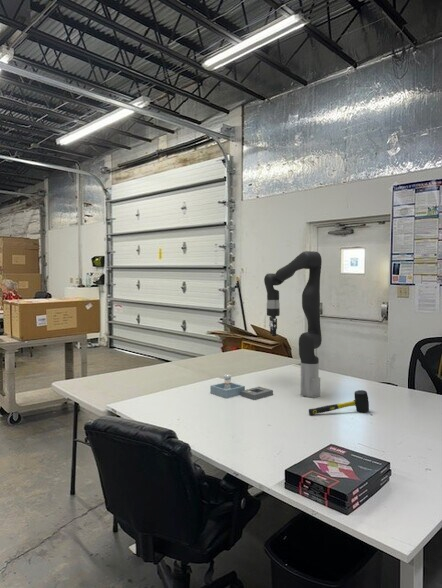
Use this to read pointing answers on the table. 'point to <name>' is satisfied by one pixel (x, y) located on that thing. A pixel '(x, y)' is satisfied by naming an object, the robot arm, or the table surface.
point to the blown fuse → (227, 381)
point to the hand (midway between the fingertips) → (273, 335)
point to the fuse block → (256, 393)
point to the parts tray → (222, 392)
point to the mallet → (347, 404)
